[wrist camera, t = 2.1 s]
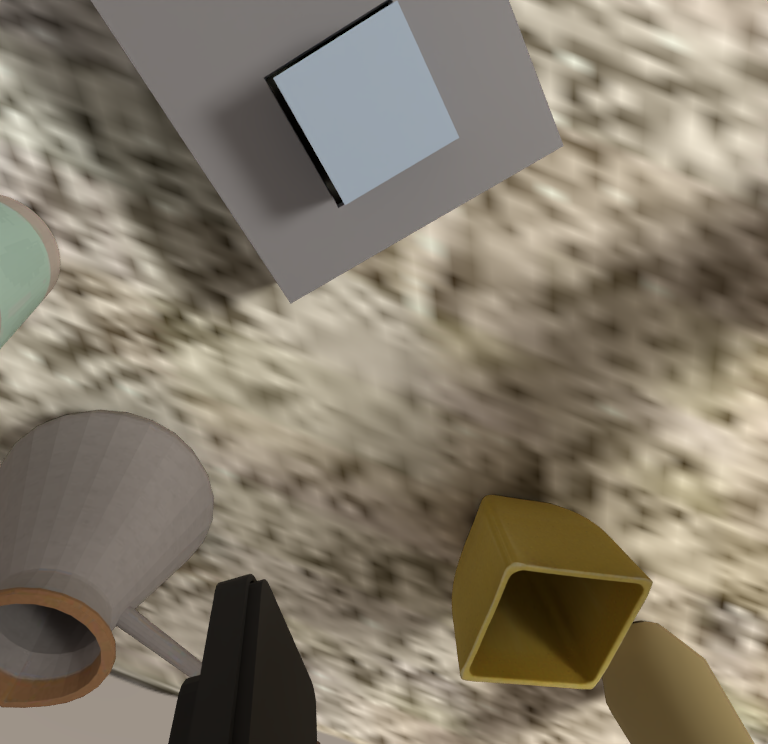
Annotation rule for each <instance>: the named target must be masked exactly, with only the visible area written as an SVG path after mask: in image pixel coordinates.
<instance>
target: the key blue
mask: <svg viewBox="0 0 768 744" xmlns="http://www.w3.org/2000/svg"><path fill="white" fill-rule="evenodd" d="M273 79H274V80H275V82H276V84H277V86H278V88H279V89H280V91H281V93H282V95H283V96H284V98H285V100H286V102H287V103H288V105H289V107H290V109H291V111H292V112H293V114H294V116H295V118H296V119H297V121H298V123H299V125H300V126H301V128H302V130H303V132H304V133H305V135H306V137H307V139H308V141H309V142H310V144H311V146H312V148H313V149H314V151H315V153H316V155H317V156H318V158H319V160H320V162H321V164H322V165H323V167H324V169H325V171H326V172H327V174H328V176H329V178H330V179H331V181H332V183H333V185H334V186H335V188H336V190H337V192H338V194H339V195H340V197H341V199H342V201H343V202H344V204H345V205H346V204H348V203H350V202H351V201H353V200H355V199H357V198H358V197H360V196H362V195H363V194H365V193H367V192H368V191H370V190H372V189H373V188H375V187H377V186H378V185H380V184H382V183H384V182H385V181H387V180H389V179H390V178H392V177H394V176H395V175H397V174H399V173H400V172H402V171H404V170H405V169H407V168H409V167H411V166H412V165H414V164H416V163H417V162H419V161H421V160H422V159H424V158H426V157H427V156H429V155H431V154H432V153H434V152H436V151H438V150H439V149H441V148H443V147H444V146H446V145H448V144H449V143H451V142H453V141H454V140H456V139H458V138H459V136H458V134H457V131H456V129H455V127H454V125H453V122H452V120H451V118H450V116H449V114H448V111H447V109H446V107H445V105H444V103H443V100H442V98H441V96H440V94H439V92H438V89H437V87H436V85H435V83H434V80H433V78H432V76H431V74H430V72H429V69H428V67H427V65H426V63H425V61H424V58H423V56H422V54H421V52H420V50H419V47H418V45H417V43H416V41H415V38H414V36H413V34H412V32H411V30H410V27H409V25H408V23H407V21H406V19H405V16H404V14H403V12H402V10H401V7H400V5H399V3H398V1H395V2H393V3H392V4H390V5H389V6H387V7H385V8H384V9H382V10H381V11H379V12H377V13H376V14H374V15H373V16H371V17H370V18H368V19H366V20H365V21H363V22H362V23H360V24H358V25H357V26H355V27H354V28H352V29H350V30H349V31H347V32H346V33H344V34H342V35H341V36H339V37H338V38H336V39H335V40H333V41H331V42H330V43H328V44H327V45H325V46H323V47H322V48H320V49H319V50H317V51H315V52H314V53H312V54H311V55H309V56H308V57H306V58H304V59H303V60H301V61H300V62H298V63H296V64H295V65H293V66H292V67H290V68H288V69H287V70H285V71H284V72H282V73H280V74H279V75H277V76H276V77H274V78H273Z"/></svg>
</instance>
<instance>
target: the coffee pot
mask: <svg viewBox="0 0 768 744" xmlns="http://www.w3.org/2000/svg"><path fill="white" fill-rule="evenodd" d="M213 502H214V497H213V493H212V489H211V485H210V481H209V478H208V474H207V473H206V471H205V469H204V467H203V466H202V464H201V463H200V461H199V459H198V458H197V456H196V455H195V453H194V451H193V450H192V449H191V448H190V447H189V446H188V445H187V444H186V443H185V442H184V441H183V440H182V439H181V438H180V437H178V436H177V435H176V434H175V433H174V432H172V431H170V430H169V429H167V428H165V427H163V426H162V425H160V424H158V423H156V422H155V421H153V420H150V419H147V418H143V417H140V416H137V415H134V414H131V413H127V412H117V411H106V410H96V411H88V412H81V413H74V414H68V415H64V416H61V417H59V418H56V419H54V420H51V421H48V422H46V423H43V424H41V425H39V426H37V427H35V428H34V429H33V430H32V431H30V432H29V433H28V434H26V435H25V436H24V437H23V438H21V439H20V440H19V441H17V442H16V443H15V444H14V446H13V447H12V449H11V450H10V452H9V453H8V455H7V456H6V458H5V459H4V461H3V462H2V464H1V467H0V706H1V707H20V708H22V707H23V708H26V707H41V706H50V705H56V704H62V703H67V702H70V701H73V700H75V699H77V698H81V697H83V696H85V695H86V694H88V693H89V692H91V691H92V690H94V689H95V688H97V687H98V686H99V685H100V684H101V683H102V681H103V680H104V679H105V678H106V677H107V676H108V674H109V673H110V672H111V669H112V667H113V664H114V662H115V659H116V651H115V639H114V637H113V634H112V632H111V631H112V630H113V629H114V628H115V627H116V626H118V627H119V628H121V629H122V630H124V631H125V632H126V633H128V634H129V635H131V636H132V637H133V638H135V639H136V640H138V641H139V642H141V643H142V644H143V645H145V646H146V647H148V648H149V649H151V650H152V651H153V652H155V653H156V654H158V655H159V656H161V657H162V658H163V659H165V660H166V661H168V662H169V663H170V664H172V665H173V666H175V667H176V668H178V669H179V670H180V671H182V672H183V673H185V674H186V675H188V676H189V677H193V676H197V675H200V672H201V667H202V662H201V661H199V660H198V659H197V658H196V657H194V656H193V655H192V654H191V653H189V652H188V651H187V650H185V649H184V648H183V647H182V646H180V645H179V644H178V643H177V642H175V641H174V640H173V639H172V638H170V637H169V636H168V635H166V634H165V633H164V632H163V631H161V630H160V629H159V628H158V627H156V626H155V625H154V624H153V623H151V622H150V621H149V620H147V619H146V618H145V617H144V616H142V615H141V614H140V613H139V612H137V611H136V610H135V608H136V607H138V606H139V605H140V604H141V603H142V602H143V601H144V600H145V599H146V598H147V597H148V596H149V595H151V594H152V593H153V592H154V591H155V590H156V589H157V588H158V587H159V586H160V585H161V584H162V583H163V582H165V581H166V580H167V579H168V578H169V577H170V576H171V575H172V574H173V573H174V572H175V571H176V570H178V569H179V568H180V567H181V566H182V565H183V564H184V563H185V562H186V561H187V560H188V559H189V558H190V557H191V556H192V555H193V554H194V552H195V551H196V550H197V549H198V548H199V546H200V545H201V544H202V543H203V541H204V539H205V537H206V535H207V532H208V530H209V527H210V525H211V522H212V518H213ZM317 744H320V742H318V741H317Z"/></svg>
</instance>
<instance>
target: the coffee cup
mask: <svg viewBox="0 0 768 744" xmlns="http://www.w3.org/2000/svg"><path fill="white" fill-rule="evenodd" d="M59 272H60V254H59V249H58V246H57V243H56V241H55V238H54V236H53V234H52V233H51V231H50V229H49V228H48V227H47V225H46V224H45V223H44V222H43V220H42V219H41V218H40V217H39V216H38V215H37V214H36V213H34V212H33V211H32V210H31V209H29V208H28V207H26V206H25V205H23V204H22V203H20V202H18V201H16V200H14V199H12V198H9V197H6V196H3V195H0V349H1V347H2V346H3V345H4V344H5V343H6V342H7V341H8V339H9V338H10V337H11V336H12V335H13V334H14V333H15V331H16V330H17V329H18V328H19V327H20V326H21V325H22V324H23V322H24V321H25V320H26V319H27V318H28V317H29V316H30V314H31V313H32V312H33V311H34V310H35V309H36V308H37V306H38V305H39V304H40V303H41V302H42V301H43V299H44V298H45V297H46V296H47V295H48V293H49V292H50V291H51V290H52V289H53V287H54V285H55V284H56V282H57V279H58V276H59Z"/></svg>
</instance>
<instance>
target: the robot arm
mask: <svg viewBox="0 0 768 744" xmlns="http://www.w3.org/2000/svg"><path fill="white" fill-rule="evenodd" d="M168 744H317V723H316V699H315V693H314V688H313V684H312V681H311V679H310V677H309V674H308V672H307V670H306V668H305V665H304V663H303V661H302V658H301V656H300V654H299V652H298V649H297V647H296V645H295V643H294V640H293V638H292V636H291V633H290V631H289V629H288V627H287V624H286V622H285V620H284V618H283V615H282V613H281V611H280V609H279V606H278V604H277V602H276V599H275V597H274V595H273V593H272V590H271V588H270V586H269V584H268V582H267V581H266V580H265V579H263V580H260V581H257V580H256V579H255V577H254V576H253V575H252V574H248V575H245V576H241V577H238V578H234V579H231V580H227V581H224V582H220V583H218V584H217V586H216V589H215V594H214V600H213V605H212V611H211V616H210V622H209V628H208V633H207V639H206V644H205V650H204V655H203V661H202V667H201V672H200V675H197V676H193V677H190V678H188V679H186V680H185V681H184V683H183V684H182V686H181V689H180V692H179V695H178V700H177V705H176V709H175V714H174V720H173V724H172V728H171V733H170V738H169V743H168Z"/></svg>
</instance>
